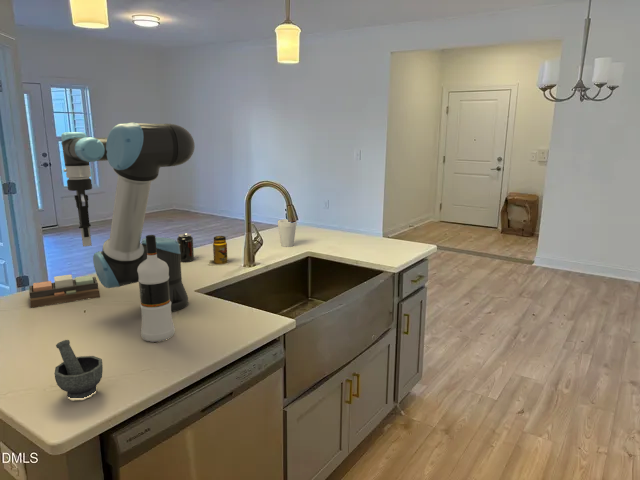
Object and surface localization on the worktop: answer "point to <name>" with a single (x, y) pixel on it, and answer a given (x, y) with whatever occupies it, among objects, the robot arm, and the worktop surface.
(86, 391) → the mortar and pestle
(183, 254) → the beverage can
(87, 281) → the sage key
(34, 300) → the keypad
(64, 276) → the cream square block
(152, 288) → the vodka
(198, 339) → the worktop surface
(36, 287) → the terracotta key
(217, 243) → the condiment
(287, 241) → the foam cup
